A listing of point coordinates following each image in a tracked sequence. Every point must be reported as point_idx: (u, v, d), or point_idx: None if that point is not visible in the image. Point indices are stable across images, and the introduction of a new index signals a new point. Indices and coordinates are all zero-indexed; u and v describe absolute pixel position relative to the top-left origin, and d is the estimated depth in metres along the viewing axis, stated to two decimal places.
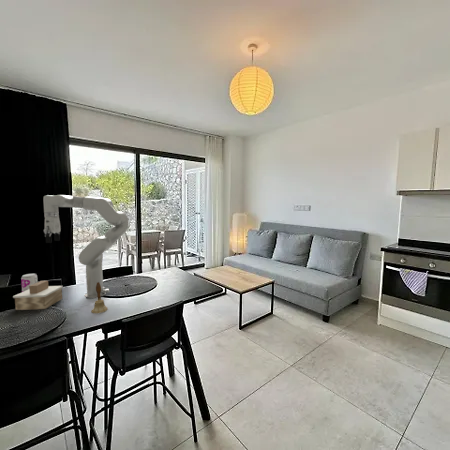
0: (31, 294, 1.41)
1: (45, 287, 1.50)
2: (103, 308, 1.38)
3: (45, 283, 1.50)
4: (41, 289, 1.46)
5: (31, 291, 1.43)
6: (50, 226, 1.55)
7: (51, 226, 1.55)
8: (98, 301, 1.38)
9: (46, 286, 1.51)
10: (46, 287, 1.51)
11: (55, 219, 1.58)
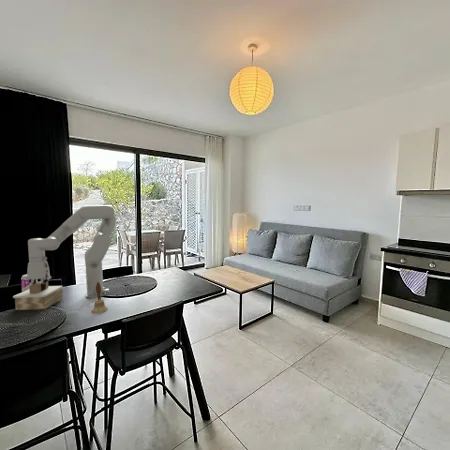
0: (31, 294, 1.41)
1: None
2: (103, 308, 1.38)
3: None
4: None
5: (31, 291, 1.43)
6: (48, 270, 1.49)
7: None
8: (98, 301, 1.38)
9: (46, 286, 1.51)
10: (46, 287, 1.51)
11: None
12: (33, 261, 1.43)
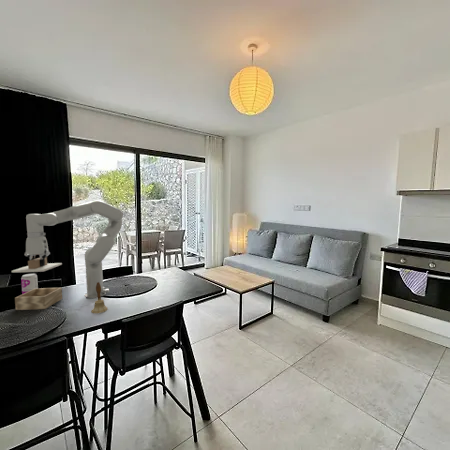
0: (30, 269, 1.40)
1: None
2: (103, 308, 1.38)
3: None
4: None
5: (30, 266, 1.42)
6: (47, 246, 1.48)
7: (47, 246, 1.48)
8: (98, 301, 1.38)
9: (45, 262, 1.50)
10: (45, 263, 1.50)
11: None
12: (31, 236, 1.42)
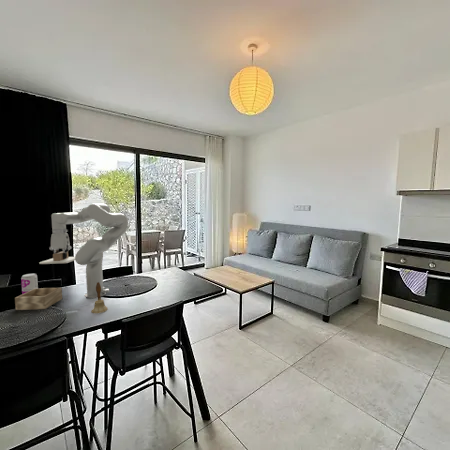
0: (55, 261, 1.61)
1: None
2: (103, 308, 1.38)
3: None
4: None
5: (54, 259, 1.63)
6: None
7: None
8: (98, 301, 1.37)
9: None
10: None
11: None
12: (56, 232, 1.63)
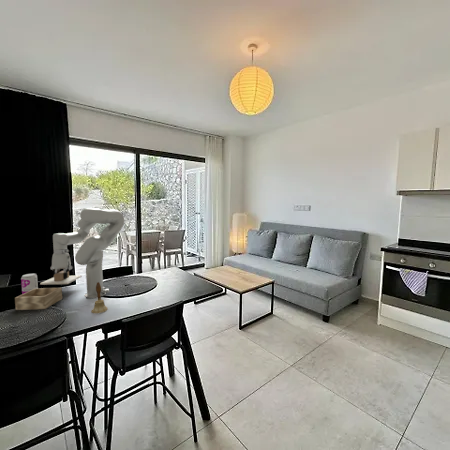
0: (55, 281, 1.62)
1: None
2: (103, 308, 1.38)
3: None
4: (63, 277, 1.67)
5: (55, 279, 1.64)
6: (70, 261, 1.70)
7: (70, 261, 1.70)
8: (98, 301, 1.37)
9: None
10: None
11: None
12: (57, 253, 1.64)
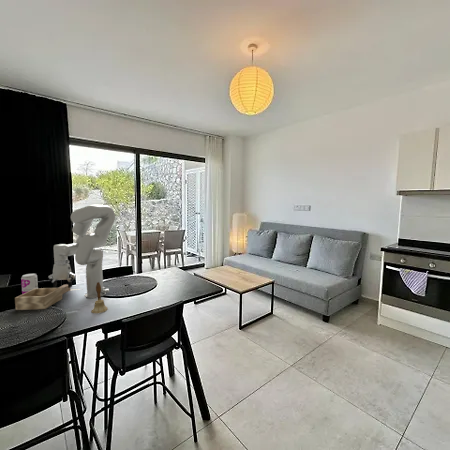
0: None
1: (68, 290, 1.72)
2: (103, 308, 1.38)
3: None
4: (65, 292, 1.68)
5: None
6: (70, 272, 1.70)
7: None
8: (98, 301, 1.38)
9: (69, 289, 1.72)
10: (69, 290, 1.72)
11: None
12: (58, 264, 1.64)
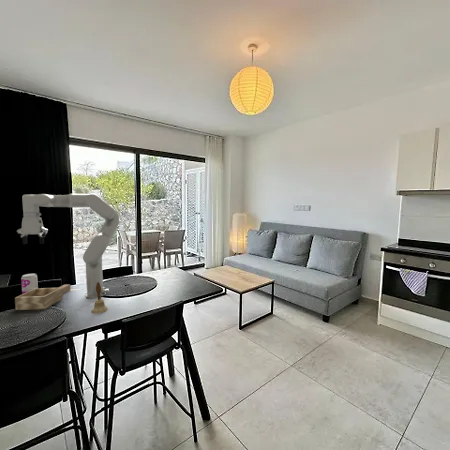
0: None
1: (68, 290, 1.72)
2: (103, 308, 1.38)
3: (68, 286, 1.72)
4: (65, 292, 1.68)
5: None
6: (42, 226, 1.52)
7: None
8: (98, 301, 1.38)
9: (69, 289, 1.72)
10: (69, 290, 1.72)
11: None
12: (27, 216, 1.46)
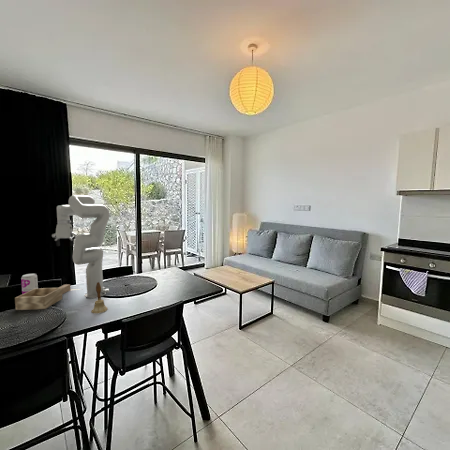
0: None
1: (68, 290, 1.72)
2: (103, 308, 1.38)
3: (68, 286, 1.72)
4: (65, 292, 1.68)
5: None
6: (72, 231, 1.84)
7: (72, 231, 1.84)
8: (98, 301, 1.38)
9: (69, 289, 1.72)
10: (69, 290, 1.72)
11: None
12: (61, 223, 1.78)
